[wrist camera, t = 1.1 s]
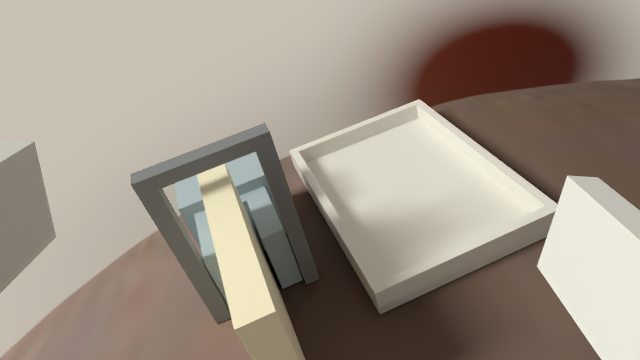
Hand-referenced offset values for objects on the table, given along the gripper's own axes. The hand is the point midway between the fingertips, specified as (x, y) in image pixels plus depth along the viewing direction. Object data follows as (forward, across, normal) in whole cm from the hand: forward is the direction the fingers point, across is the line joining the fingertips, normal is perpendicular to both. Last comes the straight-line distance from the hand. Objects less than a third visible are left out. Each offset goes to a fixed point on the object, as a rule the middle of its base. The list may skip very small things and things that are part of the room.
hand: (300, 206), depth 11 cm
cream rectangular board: (+15, -1, -20) cm, 25 cm away
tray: (+28, +9, -14) cm, 32 cm away
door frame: (+24, -5, -18) cm, 30 cm away
